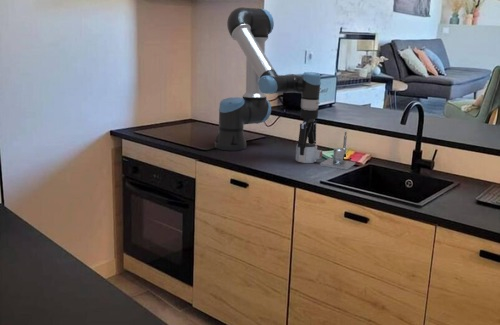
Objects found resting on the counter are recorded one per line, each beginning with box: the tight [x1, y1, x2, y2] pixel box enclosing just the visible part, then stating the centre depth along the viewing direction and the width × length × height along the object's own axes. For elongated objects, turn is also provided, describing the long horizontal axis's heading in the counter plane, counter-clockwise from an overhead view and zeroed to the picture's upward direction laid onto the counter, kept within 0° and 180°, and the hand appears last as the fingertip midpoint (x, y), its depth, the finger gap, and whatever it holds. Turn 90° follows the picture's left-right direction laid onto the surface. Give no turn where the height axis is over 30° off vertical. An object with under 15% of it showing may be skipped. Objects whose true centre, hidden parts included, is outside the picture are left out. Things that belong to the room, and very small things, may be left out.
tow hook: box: [341, 130, 347, 157], centre depth 238 cm, size 8×13×9 cm
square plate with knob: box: [319, 147, 356, 170], centre depth 225 cm, size 12×12×7 cm
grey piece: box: [295, 142, 323, 164], centre depth 229 cm, size 11×8×7 cm
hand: (305, 159), depth 230 cm, fingers closed on grey piece, 8 cm apart
